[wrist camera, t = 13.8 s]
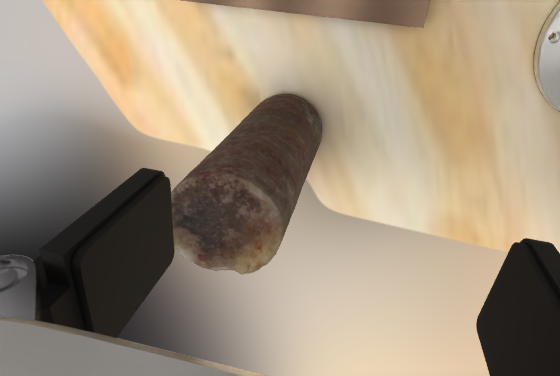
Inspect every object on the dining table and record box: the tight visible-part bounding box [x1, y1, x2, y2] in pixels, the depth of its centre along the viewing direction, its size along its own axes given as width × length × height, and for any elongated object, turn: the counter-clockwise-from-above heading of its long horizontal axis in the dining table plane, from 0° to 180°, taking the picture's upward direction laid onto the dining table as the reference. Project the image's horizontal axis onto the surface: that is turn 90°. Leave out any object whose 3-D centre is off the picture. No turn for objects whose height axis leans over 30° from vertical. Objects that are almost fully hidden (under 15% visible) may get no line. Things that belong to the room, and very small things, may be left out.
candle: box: [171, 94, 322, 274], centre depth 31 cm, size 8×7×20 cm
